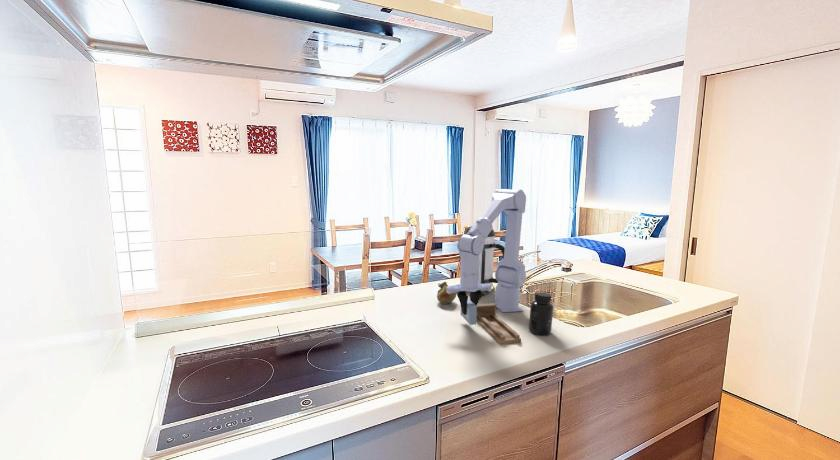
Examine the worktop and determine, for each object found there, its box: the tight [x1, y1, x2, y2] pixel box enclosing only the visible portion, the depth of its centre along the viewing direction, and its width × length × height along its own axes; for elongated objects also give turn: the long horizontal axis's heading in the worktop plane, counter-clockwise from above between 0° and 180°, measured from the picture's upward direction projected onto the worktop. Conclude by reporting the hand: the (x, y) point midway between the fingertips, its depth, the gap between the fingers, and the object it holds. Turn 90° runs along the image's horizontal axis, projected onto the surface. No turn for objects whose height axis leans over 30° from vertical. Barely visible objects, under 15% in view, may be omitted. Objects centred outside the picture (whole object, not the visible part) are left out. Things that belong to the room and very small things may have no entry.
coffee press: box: [463, 225, 505, 297], centre depth 160 cm, size 17×16×30 cm
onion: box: [436, 281, 457, 305], centre depth 146 cm, size 8×8×8 cm
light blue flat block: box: [460, 298, 477, 326], centre depth 123 cm, size 9×2×6 cm, turn 14°
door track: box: [476, 302, 522, 345], centre depth 122 cm, size 20×7×5 cm, turn 14°
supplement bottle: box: [528, 292, 554, 336], centre depth 120 cm, size 7×7×12 cm
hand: (468, 313), depth 124 cm, fingers closed on light blue flat block, 2 cm apart
